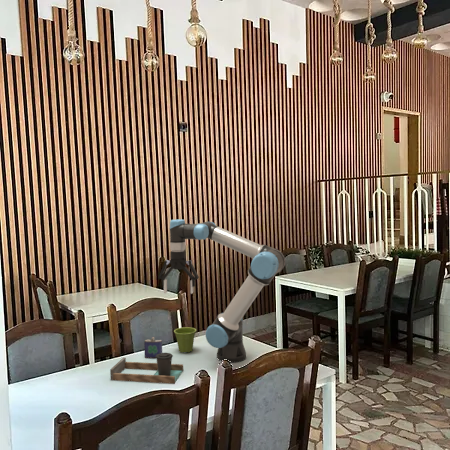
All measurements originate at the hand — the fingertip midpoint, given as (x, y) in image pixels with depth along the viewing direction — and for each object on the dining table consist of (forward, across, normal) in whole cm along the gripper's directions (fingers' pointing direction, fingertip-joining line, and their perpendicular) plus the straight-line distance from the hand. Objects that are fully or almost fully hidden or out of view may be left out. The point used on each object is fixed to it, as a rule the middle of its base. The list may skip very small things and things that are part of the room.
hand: (178, 292), depth 249 cm
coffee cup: (+34, +2, +21) cm, 40 cm away
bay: (+35, +10, +21) cm, 42 cm away
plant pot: (+35, +1, -15) cm, 38 cm away
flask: (+35, +15, -3) cm, 38 cm away
